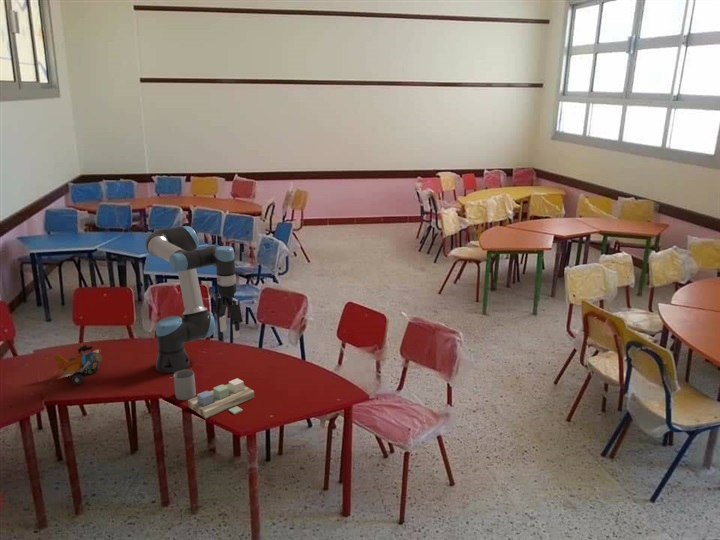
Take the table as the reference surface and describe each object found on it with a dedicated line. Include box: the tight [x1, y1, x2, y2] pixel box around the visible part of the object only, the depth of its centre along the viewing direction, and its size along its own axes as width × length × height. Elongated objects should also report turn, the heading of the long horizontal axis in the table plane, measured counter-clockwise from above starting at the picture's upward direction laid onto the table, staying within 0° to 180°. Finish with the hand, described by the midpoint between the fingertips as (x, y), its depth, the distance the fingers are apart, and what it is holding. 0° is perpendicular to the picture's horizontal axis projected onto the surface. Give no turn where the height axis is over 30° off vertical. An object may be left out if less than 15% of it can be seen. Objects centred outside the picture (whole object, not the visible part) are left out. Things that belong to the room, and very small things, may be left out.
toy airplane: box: [53, 344, 104, 385], centre depth 260 cm, size 29×23×15 cm
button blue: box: [196, 390, 214, 407], centre depth 236 cm, size 4×4×4 cm
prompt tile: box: [228, 405, 243, 415], centre depth 235 cm, size 4×4×1 cm
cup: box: [173, 369, 197, 401], centre depth 246 cm, size 8×8×10 cm
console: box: [187, 383, 255, 420], centre depth 242 cm, size 13×24×3 cm, turn 136°
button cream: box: [228, 377, 245, 394], centre depth 246 cm, size 4×4×4 cm
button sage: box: [212, 383, 229, 400], centre depth 241 cm, size 4×4×4 cm
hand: (230, 333), depth 247 cm, fingers open, 9 cm apart
